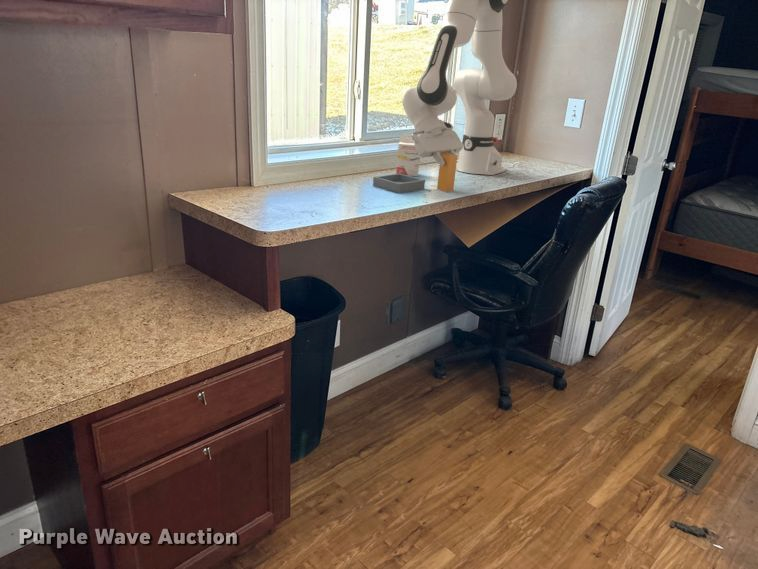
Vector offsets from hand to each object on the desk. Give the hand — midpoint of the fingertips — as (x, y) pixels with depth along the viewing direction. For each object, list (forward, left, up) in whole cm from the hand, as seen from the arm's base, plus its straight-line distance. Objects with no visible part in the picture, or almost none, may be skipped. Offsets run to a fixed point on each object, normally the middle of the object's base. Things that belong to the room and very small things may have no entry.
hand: (449, 164), depth 190 cm
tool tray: (+12, -12, -9) cm, 19 cm away
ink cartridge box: (-7, -26, -9) cm, 28 cm away
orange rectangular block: (0, -1, -9) cm, 9 cm away
